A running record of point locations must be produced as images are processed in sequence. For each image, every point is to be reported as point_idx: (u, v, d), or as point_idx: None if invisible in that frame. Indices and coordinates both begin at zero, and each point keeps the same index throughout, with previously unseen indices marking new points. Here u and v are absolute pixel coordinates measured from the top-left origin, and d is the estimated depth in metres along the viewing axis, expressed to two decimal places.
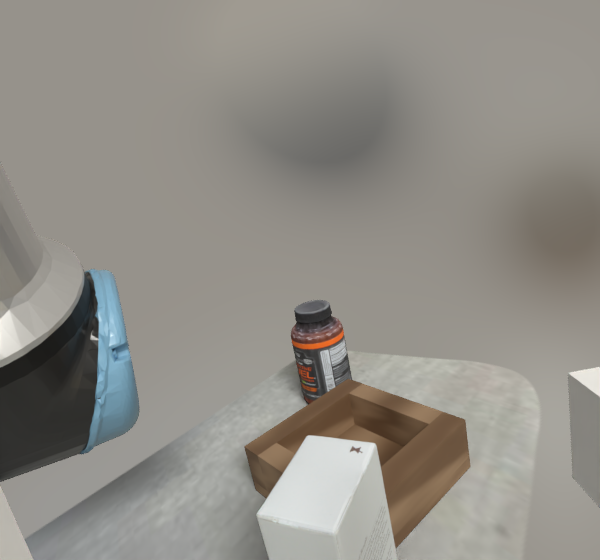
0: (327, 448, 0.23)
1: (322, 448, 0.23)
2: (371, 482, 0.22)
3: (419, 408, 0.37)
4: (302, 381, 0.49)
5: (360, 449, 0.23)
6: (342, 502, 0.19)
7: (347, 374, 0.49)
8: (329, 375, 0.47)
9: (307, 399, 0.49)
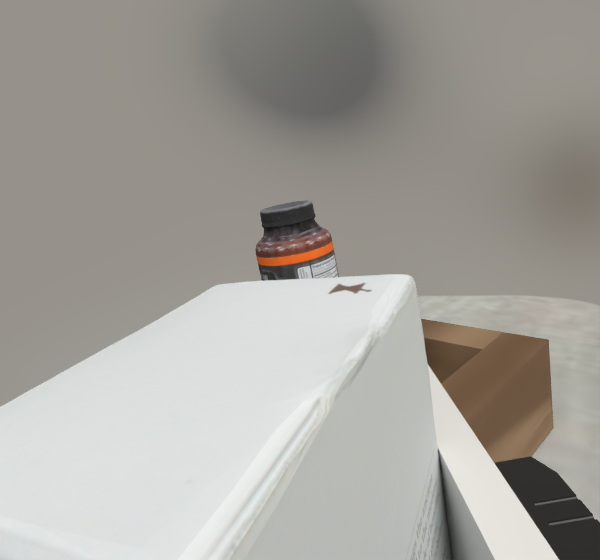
0: (260, 295, 0.07)
1: (246, 297, 0.07)
2: (403, 384, 0.06)
3: (459, 330, 0.22)
4: None
5: (364, 286, 0.07)
6: (275, 420, 0.04)
7: None
8: None
9: None
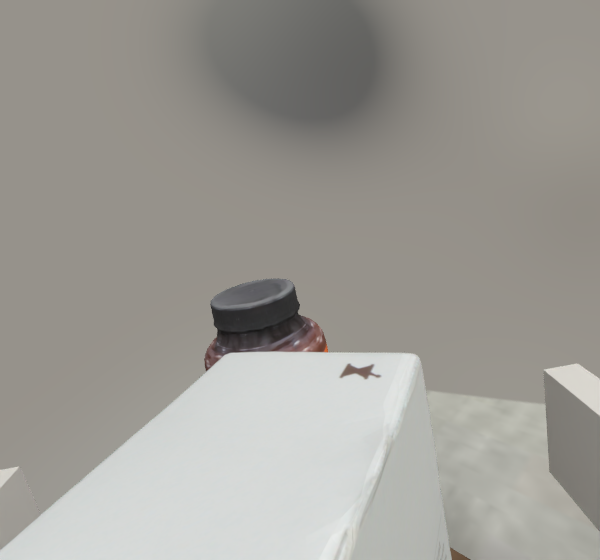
0: (273, 374, 0.08)
1: (260, 376, 0.08)
2: (414, 471, 0.06)
3: None
4: None
5: (374, 369, 0.07)
6: None
7: None
8: None
9: None
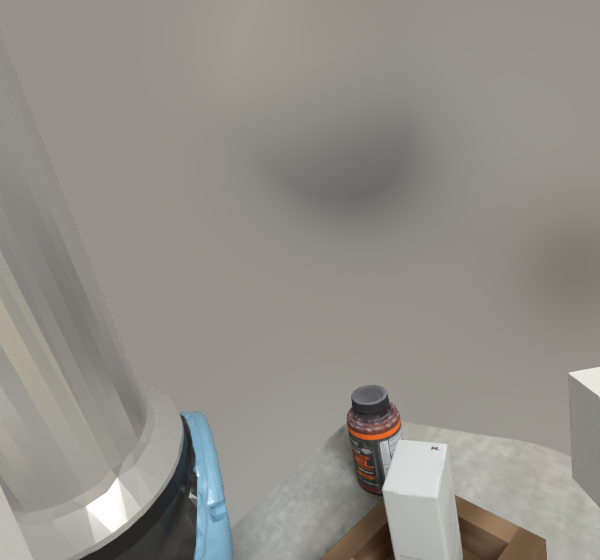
0: (415, 448, 0.35)
1: (412, 448, 0.35)
2: (447, 469, 0.34)
3: (493, 520, 0.37)
4: (358, 467, 0.49)
5: (438, 447, 0.35)
6: (436, 480, 0.32)
7: None
8: (387, 464, 0.47)
9: (363, 485, 0.49)
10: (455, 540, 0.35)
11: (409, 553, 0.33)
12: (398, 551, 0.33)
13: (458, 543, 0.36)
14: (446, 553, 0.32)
